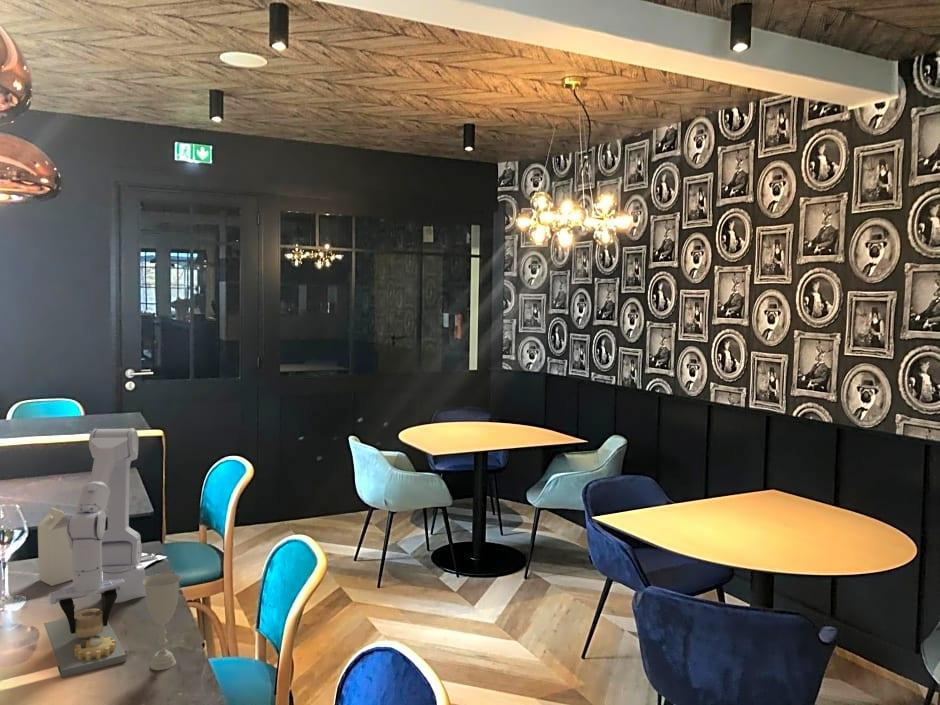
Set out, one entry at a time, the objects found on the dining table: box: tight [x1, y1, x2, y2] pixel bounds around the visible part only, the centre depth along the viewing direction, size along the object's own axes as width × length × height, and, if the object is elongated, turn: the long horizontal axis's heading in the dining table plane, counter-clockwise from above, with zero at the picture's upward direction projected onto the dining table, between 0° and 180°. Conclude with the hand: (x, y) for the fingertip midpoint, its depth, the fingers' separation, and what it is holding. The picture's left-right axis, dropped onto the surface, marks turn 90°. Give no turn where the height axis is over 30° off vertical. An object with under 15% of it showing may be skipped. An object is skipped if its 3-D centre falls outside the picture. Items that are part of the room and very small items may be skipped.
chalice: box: [143, 573, 182, 671], centre depth 154 cm, size 7×7×18 cm
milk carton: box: [37, 506, 73, 587], centre depth 198 cm, size 7×7×19 cm
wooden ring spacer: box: [74, 608, 103, 638], centre depth 162 cm, size 6×6×4 cm
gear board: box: [44, 617, 127, 679], centre depth 162 cm, size 12×26×6 cm, turn 36°
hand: (88, 628), depth 162 cm, fingers open, 6 cm apart
